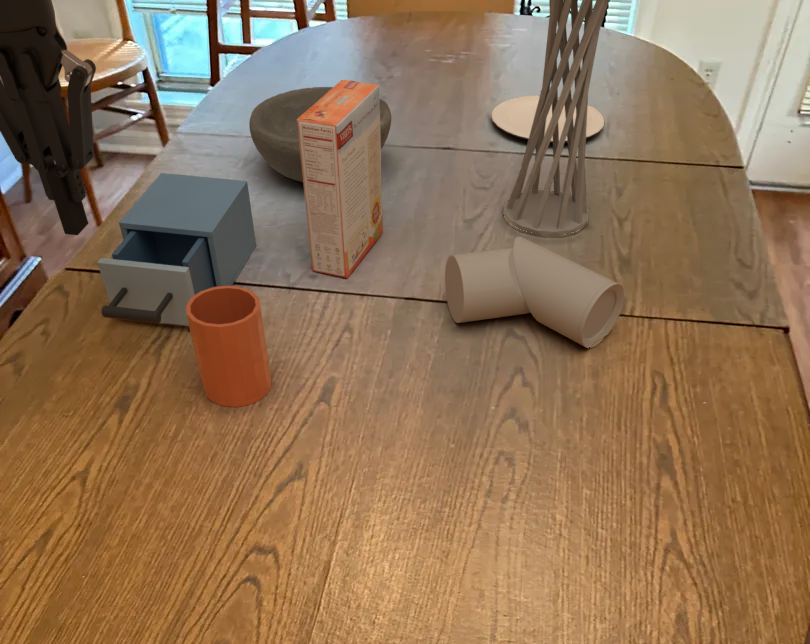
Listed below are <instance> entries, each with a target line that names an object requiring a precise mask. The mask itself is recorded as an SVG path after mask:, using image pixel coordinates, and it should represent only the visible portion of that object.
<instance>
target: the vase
mask: <svg viewBox="0 0 810 644" xmlns="http://www.w3.org/2000/svg"><path fill="white" fill-rule="evenodd" d="M578 1H579V0H548V2H549V5H548V6H549V18H548V27H547V36H546V46H545V47H546V48H545V56H544V65H543V66H544V67H543V76H542V86H541V90H540V94H539V96H540V98H539V101H538V105H537V109H536V113H535V117H534V120H533V124H532V128H531V132H530V136H529V139H528V140H527V143H526V148H525V151H524V155H523V159H522V163H521V166H520V170H519V172H518V176H517V178H516V181H515V183H514V186H513V188H512V192H511V193H510V197H509V199H507V200H506V201H505V202H504V204H503V211H502V218H503V220H505V222H506V224H507V225H508V226H509V227H511V228H513V229H515V230H516V231H518V232H520V233H523V234H527V235H531V236H537V237H541V238H547V239H548V238H565V237H568V236H573V235H576V234H579V233H580V232H581V231H582V230H583V229H584V228H586V227H587V226H588V225H589V223H590V222H589V221H590V220H589V219H590V218H589V215H590V210H591V209H590V207H589V206H587V205H588V204H587V187H586V186H587V185H586V183H587V182H586V181H587V180H586V148H587V147H586V145H587V138H586V127H587V106H588V105H589V104H588V103H589V90H590V85H591V80H592V73H593V68H594V63H595V58H596V52H597V47H598V41H599V36H600V31H601V28H602V25H603V21H604V18H605V16H606V11H607V9H608V5H609V2H610V0H595V3H594V0H582V1H581V3H580V6H579V3H578ZM593 3H594V4H593ZM593 5H594V6H593ZM569 16H570V21H571V22H570V23H571V24H570V25H571V31H570V33H569V36H568V34H567V23H568V21H569ZM582 25H583V34H582V37H581V40H580V31H581V29H582V28H581V27H582ZM571 54H572V57H573V58H572V63H571V65H570V61H569V60H570V58H571ZM559 55H560V60H559V64H558V57H559ZM581 64H582V65H581ZM561 82H562V88H561V92H560V94H559V93H558V91H559V90H558V89H559V87H560V83H561ZM573 84H574V90H573V91H574V92H573V95H572V87H573ZM558 95H559V96H558ZM558 97H559V99H558ZM551 105H552V118H551V120H550V123H549V125H548V128H547V131H546V133H545V125H546V118H547V115H548V112H549V110H550V107H551ZM564 105H565V117H566V121H565V124H564V127H563V131H562V134H561V137H560V140H559V128H558V120H559V118H560V115H561V112H562V110H563V107H564ZM575 107H576V119H575V125H574V124H573V114H574V111H575ZM544 134H545V136H544ZM552 136H553V143H552V163H551V166H550V169H549V173H548V176H547V178H546V179H547V180H546V183H545V186H544V189H539V186H540V177H541V167H542V164H543V162H544V159H545V157H546V153H547V151H548V148H549V146H550V141H551V138H552ZM566 136H567V140H568V142H567V153H568V159H567V165H566V170H565V176H564V182H563V188H562V191H561V177H560V176H561V173H560V172H561V171H560V170H561V169H560V158H561V156H562V152H563V149H564V146H565V143H566V142H565V140H566ZM534 152H535V153H534ZM533 154H535V155H534V162H533V164H532V168H531V169H530V172H529V176H528V177H526V176H527V173H528V170H529V165H530V163H531V160H532V157H533ZM526 178H527V180H526ZM525 180H526V184H525ZM524 184H525V186H524ZM552 185H553V190H551V189H552ZM523 188H524V189H523ZM570 193H571V194H570ZM503 215H504V216H505V217H506V218H505V217H504V216H503ZM506 219H507V220H508V221H507V220H506ZM510 223H511V224H512V225H511V224H510ZM587 223H588V224H587ZM513 225H514V226H513ZM515 226H516V227H518V228H519V229H518V228H516V227H515ZM583 226H584V227H583ZM582 227H583V228H582ZM581 228H582V229H581ZM520 229H521V230H520ZM579 229H580V230H579ZM523 230H524V231H523ZM577 230H579V231H577ZM526 231H527V232H526ZM576 231H577V232H576ZM531 232H532V233H531ZM571 232H574V233H571ZM569 233H570V234H569ZM564 234H566V235H564Z"/></svg>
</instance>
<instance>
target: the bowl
mask: <svg viewBox="0 0 810 644" xmlns="http://www.w3.org/2000/svg"><path fill="white" fill-rule="evenodd" d="M333 87H334V86H314V87H305V88H304V87H303V88H298V89H293V90H289V91H285V92H282V93H281V92H280V93H278V94H276V95H273V96H270V97H269V98H266V99H265V100H263V101H262V102H260V103H259V104H257V105H256V106H255V107H254V109H252V111H251V114H250V118H249V122H248V123H249V133H250V137H251V140H252V142H253V145H254V146H255V149H256V150H257V152H258V153H259V155H260V156H261V157H262V159H263V160H264V161H265V162H266V164H267V165H269V166H270V167H271V168H272V169H273V170H275V171H276V172H278V173H279V174H281V176H284V177H286V178H288V179H291V180H293V181H297V182H301V183H303V175H302V165H301V155H300V146H299V136H298V127H297V119H298V118H299V117H300V116H301V115H302V114H303V113H304V112H306V111H307V110H308V109H309V108H310V107H311V106H313V105H314V104H315V103H316V102H317V101H318V100H319V99H321V98H322V97H323V96H324V95H325V94H326V93H327V92H328V91H330V90H331V89H332V88H333ZM379 99H380V136H381V150H383V148H384V145H385V143H386V141H387V139H388V136H389V133H390V130H391V126H392V113H391V110H390V107H389V104H388V103H387V102H386V101H385V100H383V99H382V98H380V97H379Z"/></svg>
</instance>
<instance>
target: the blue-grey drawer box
mask: <svg viewBox="0 0 810 644" xmlns="http://www.w3.org/2000/svg"><path fill="white" fill-rule="evenodd" d="M118 225H119V229H120V232H121V236H122V237H121V238H122V241H123V240H124V239H125V237H126V236H127V235H128V234H129V233H130V231H131V230H132V229H134V230H144V231H153V232H163V233H173V234H182V235H192V236H201V237H207V238H208V243H209V249H210V254H211V259H212V265H213V270H214V275H215V280H216V287H219V286H234V283H235V282H236V280H237V278H238V277H239V275H240V273H241V271H242V270H243V268H244V267H245V265H246V263H247V262H248V260H249V259H250V256H251V255H252V253H253V251H255V248H256V247H257V241H256V234H255V233H256V232H255V227H254V219H253V213H252V206H251V198H250V191H249V184H248V181H247V180H241V179H240V180H239V179H230V178H220V177H209V176H200V175H199V176H197V175H187V174H176V173H169V172H168V173H166V172H165V173H164V172H161V173H160V174H159V175H158V176H157V177H156V178H155V180H153V182H152V183H151V184H150V185H149V187H147V189H146V190H145V191H144V192H143V193H142V195H141V196H140V197H139V198H138V199H137V201H135V203H134V204H133V205H132V207H130V208H129V210H128V211H127V212H126V213H125V214H124V215H123V217H122V218H121V219H120V220H119V221H118Z"/></svg>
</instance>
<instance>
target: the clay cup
mask: <svg viewBox="0 0 810 644" xmlns="http://www.w3.org/2000/svg"><path fill="white" fill-rule="evenodd" d="M260 301H261V300H260V298H259V296H258V295H256V293H254V292H253V290H250V289H247V288H245V287H242V286H235V285H232V286H219V287H212V288H209V289H206V290H203V291H200V292H199V293H197V294H196V295H194V296H193V297H191V299H190V300H189V302H188V303H187V305H186V314H187V319H188V323H189V326H188V327H189V330H190V331H189V332H190V336H191V340H192V345H193V349H194V353H195V358H196V362H197V367H198V371H199V376H200V379H201V384H202V388H203V390H204V394H205V396H206V397H207V399H209V400H210V401H211V402H212V403H215V404H217V405H219V406H222V407H228V408H229V407H230V408H238V407H239V408H240V407H245V406H250V405H252V404H254V403H257V402H259V401H260V400H262V399H264V398H265V397H266V396H267V395H268V394H269V392H270V391H271V388H272V378H271V377H272V376H271V370H270V362H269V356H268V350H267V343H266V337H265V336H266V334H265V328H264V322H263V315H262V308H261V302H260Z"/></svg>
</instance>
